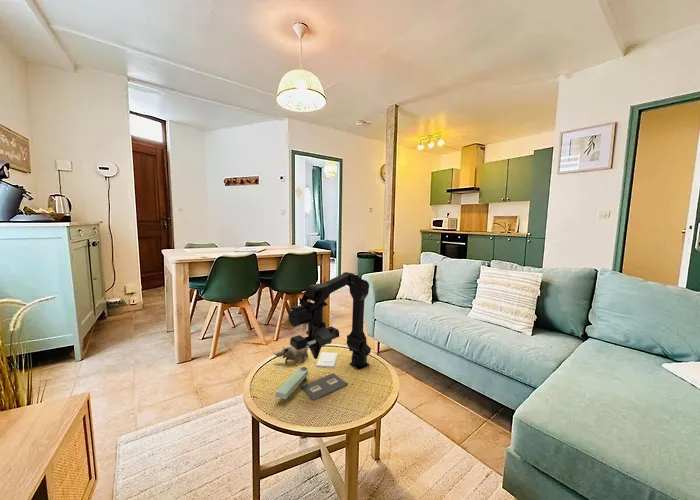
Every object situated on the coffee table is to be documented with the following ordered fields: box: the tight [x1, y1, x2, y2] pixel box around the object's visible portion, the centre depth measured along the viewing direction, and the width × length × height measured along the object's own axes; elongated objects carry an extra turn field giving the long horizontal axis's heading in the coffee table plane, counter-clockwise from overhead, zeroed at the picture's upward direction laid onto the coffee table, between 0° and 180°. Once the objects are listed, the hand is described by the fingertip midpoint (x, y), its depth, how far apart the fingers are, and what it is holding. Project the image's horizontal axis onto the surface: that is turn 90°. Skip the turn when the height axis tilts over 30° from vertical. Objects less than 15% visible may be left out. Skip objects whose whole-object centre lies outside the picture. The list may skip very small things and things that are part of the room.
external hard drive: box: [315, 351, 339, 369], centre depth 134 cm, size 2×8×12 cm
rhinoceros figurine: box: [272, 345, 309, 367], centre depth 132 cm, size 8×14×15 cm
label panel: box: [299, 373, 349, 402], centre depth 116 cm, size 16×15×2 cm
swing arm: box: [275, 366, 309, 400], centre depth 111 cm, size 18×4×2 cm, turn 161°
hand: (315, 358), depth 110 cm, fingers closed
